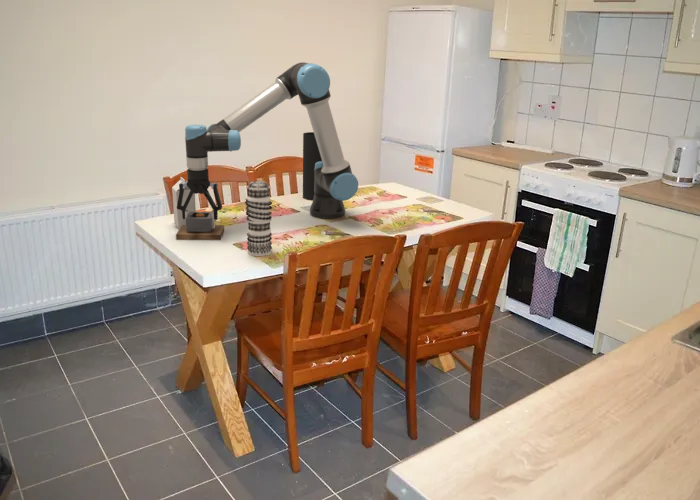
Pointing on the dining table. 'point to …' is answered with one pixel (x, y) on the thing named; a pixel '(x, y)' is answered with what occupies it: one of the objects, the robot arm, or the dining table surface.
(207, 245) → the dining table surface
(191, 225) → the dark grey hollow block
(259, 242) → the decorative candle
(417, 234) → the dining table surface
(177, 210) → the milk carton
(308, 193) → the vase
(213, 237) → the stand
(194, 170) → the robot arm
